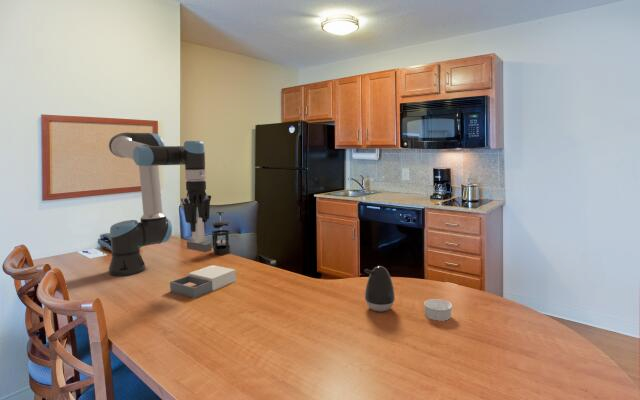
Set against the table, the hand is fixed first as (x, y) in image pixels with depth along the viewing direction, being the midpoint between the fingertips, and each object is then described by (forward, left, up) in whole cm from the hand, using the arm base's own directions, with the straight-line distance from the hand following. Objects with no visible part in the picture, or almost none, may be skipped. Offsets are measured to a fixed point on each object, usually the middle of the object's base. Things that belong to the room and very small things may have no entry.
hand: (198, 238), depth 148 cm
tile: (0, -7, -17) cm, 19 cm away
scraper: (0, 0, -5) cm, 5 cm away
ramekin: (+90, +20, -21) cm, 95 cm away
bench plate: (0, +6, -21) cm, 21 cm away
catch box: (0, -5, -21) cm, 21 cm away
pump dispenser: (+71, +16, -21) cm, 76 cm away
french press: (-33, +42, -21) cm, 57 cm away
